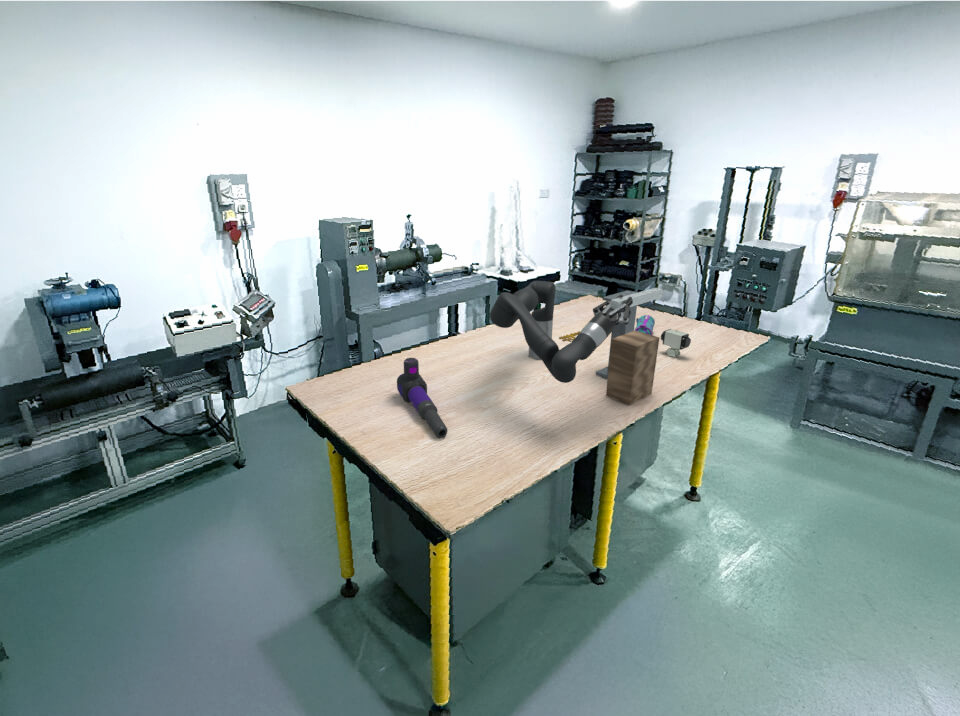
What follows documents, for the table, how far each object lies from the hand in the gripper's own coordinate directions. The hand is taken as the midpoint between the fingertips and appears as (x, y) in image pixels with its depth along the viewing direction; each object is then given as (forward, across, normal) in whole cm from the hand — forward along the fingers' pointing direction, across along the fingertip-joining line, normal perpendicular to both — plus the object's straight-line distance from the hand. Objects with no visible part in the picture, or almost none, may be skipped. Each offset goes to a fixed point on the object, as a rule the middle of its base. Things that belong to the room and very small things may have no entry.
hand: (626, 297), depth 161 cm
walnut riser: (-11, 0, +37) cm, 39 cm away
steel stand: (0, +14, +44) cm, 46 cm away
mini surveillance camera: (+30, +10, +61) cm, 69 cm away
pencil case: (+39, +32, +66) cm, 83 cm away
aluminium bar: (+4, 0, +6) cm, 7 cm away
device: (-69, +37, +5) cm, 78 cm away
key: (+21, +53, +57) cm, 80 cm away
